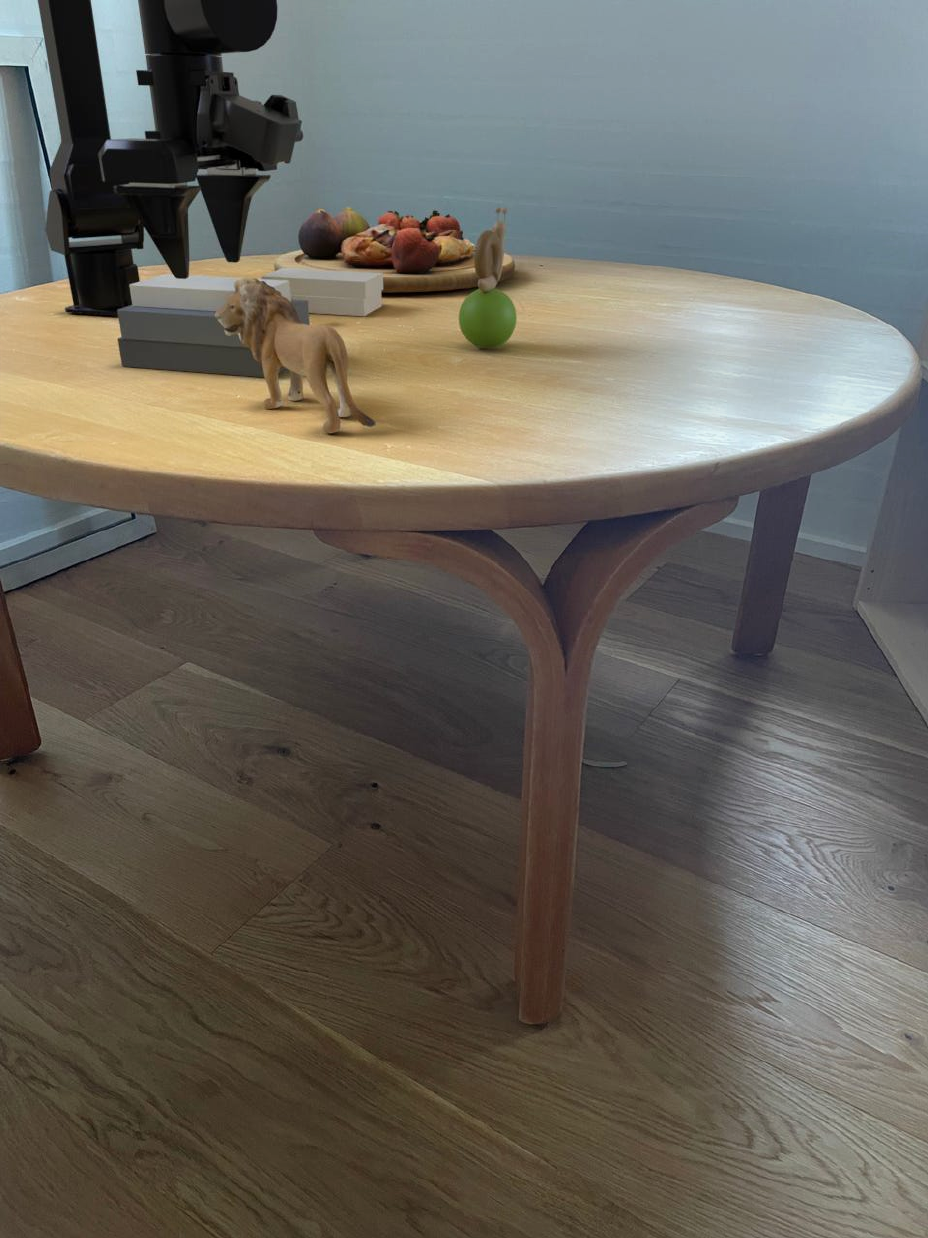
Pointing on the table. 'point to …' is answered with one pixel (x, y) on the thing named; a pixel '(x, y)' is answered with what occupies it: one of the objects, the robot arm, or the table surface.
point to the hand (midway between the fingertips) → (208, 269)
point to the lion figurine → (290, 348)
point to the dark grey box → (187, 341)
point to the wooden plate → (390, 250)
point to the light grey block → (333, 290)
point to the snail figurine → (488, 293)
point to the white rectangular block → (191, 292)
